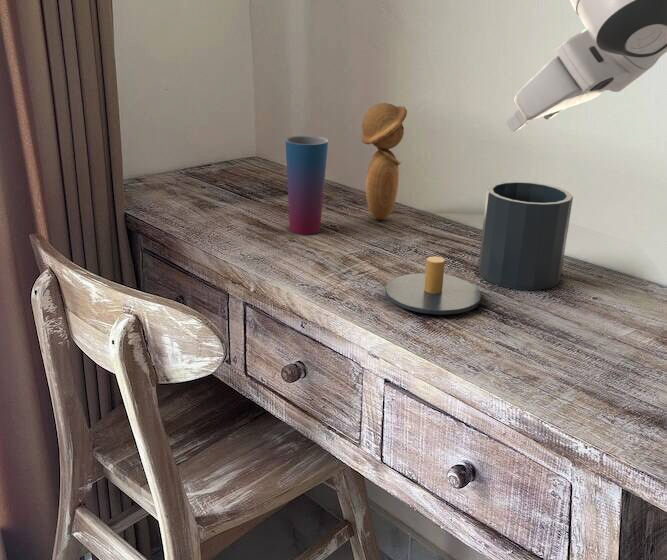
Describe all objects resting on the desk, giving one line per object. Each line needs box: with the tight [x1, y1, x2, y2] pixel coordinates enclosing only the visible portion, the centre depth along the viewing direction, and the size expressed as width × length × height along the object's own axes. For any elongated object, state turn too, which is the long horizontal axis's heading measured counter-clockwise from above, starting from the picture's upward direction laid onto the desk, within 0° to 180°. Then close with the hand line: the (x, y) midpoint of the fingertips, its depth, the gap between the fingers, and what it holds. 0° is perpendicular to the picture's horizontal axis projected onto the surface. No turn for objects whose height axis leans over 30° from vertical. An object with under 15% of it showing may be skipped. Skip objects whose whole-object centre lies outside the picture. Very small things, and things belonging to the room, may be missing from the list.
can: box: [478, 180, 574, 291], centre depth 116 cm, size 12×12×12 cm
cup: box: [284, 134, 329, 236], centre depth 132 cm, size 7×7×15 cm
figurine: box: [360, 102, 408, 220], centre depth 137 cm, size 9×7×20 cm
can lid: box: [384, 255, 482, 316], centre depth 108 cm, size 13×13×6 cm
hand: (528, 120), depth 111 cm, fingers open, 8 cm apart
